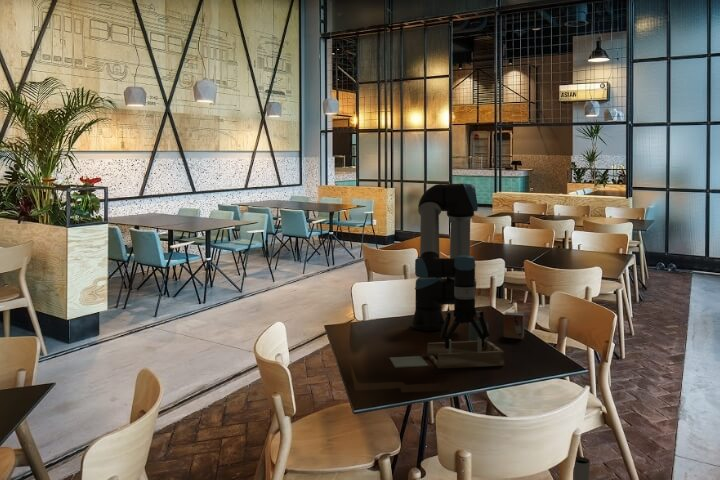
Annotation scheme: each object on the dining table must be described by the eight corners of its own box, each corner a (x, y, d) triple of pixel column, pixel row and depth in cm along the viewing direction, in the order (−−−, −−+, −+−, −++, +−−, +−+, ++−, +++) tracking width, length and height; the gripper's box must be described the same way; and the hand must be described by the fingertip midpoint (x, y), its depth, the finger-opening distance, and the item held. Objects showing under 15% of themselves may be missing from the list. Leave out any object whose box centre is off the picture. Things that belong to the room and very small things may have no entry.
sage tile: (389, 358, 223) (389, 357, 223) (420, 357, 224) (420, 356, 224) (395, 367, 211) (395, 366, 211) (428, 366, 213) (428, 365, 213)
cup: (488, 350, 233) (488, 325, 232) (468, 349, 234) (468, 324, 234) (488, 345, 240) (488, 321, 240) (468, 344, 242) (468, 320, 241)
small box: (503, 338, 252) (503, 314, 251) (505, 335, 257) (505, 311, 256) (522, 340, 249) (523, 315, 248) (524, 337, 254) (524, 312, 253)
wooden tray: (427, 355, 226) (427, 342, 226) (488, 352, 229) (488, 340, 229) (438, 368, 209) (438, 354, 209) (504, 365, 212) (504, 351, 212)
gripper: (436, 300, 212) (436, 360, 214) (498, 298, 215) (498, 357, 217) (431, 296, 220) (431, 355, 221) (491, 294, 223) (491, 352, 224)
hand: (464, 356), depth 219 cm, fingers open, 11 cm apart
